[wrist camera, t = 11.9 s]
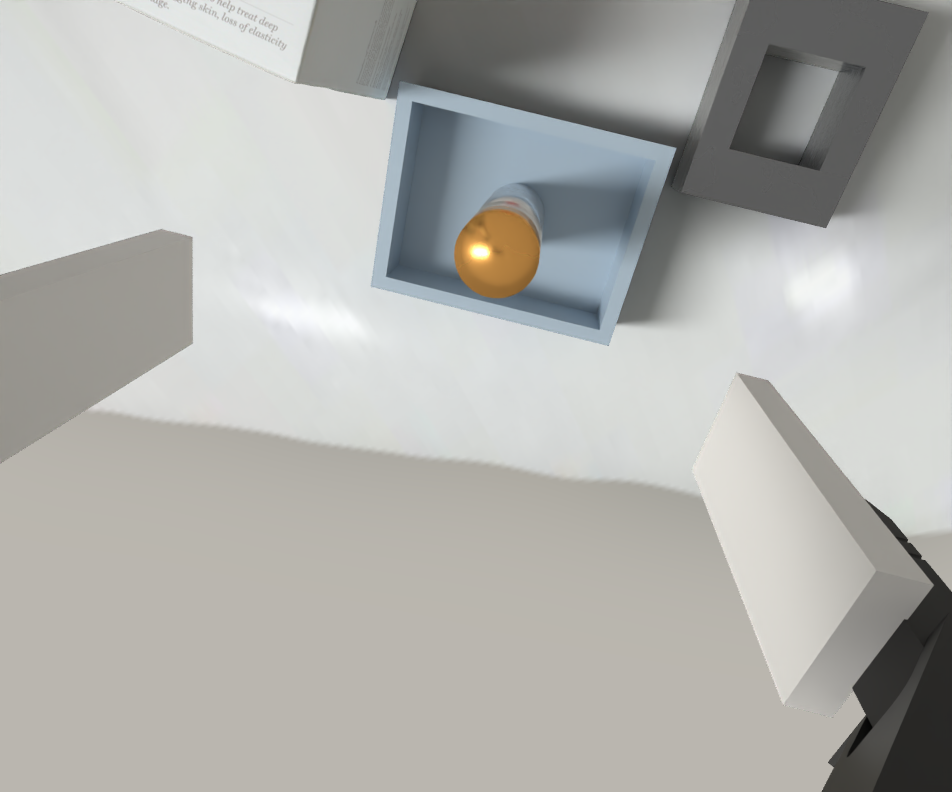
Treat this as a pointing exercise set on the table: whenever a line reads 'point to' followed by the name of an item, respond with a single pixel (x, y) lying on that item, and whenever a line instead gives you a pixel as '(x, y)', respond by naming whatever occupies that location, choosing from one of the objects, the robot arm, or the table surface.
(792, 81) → the table surface
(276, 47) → the skincare box
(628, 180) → the tray
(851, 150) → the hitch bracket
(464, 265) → the copper top battery
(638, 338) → the table surface
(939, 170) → the table surface
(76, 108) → the table surface
